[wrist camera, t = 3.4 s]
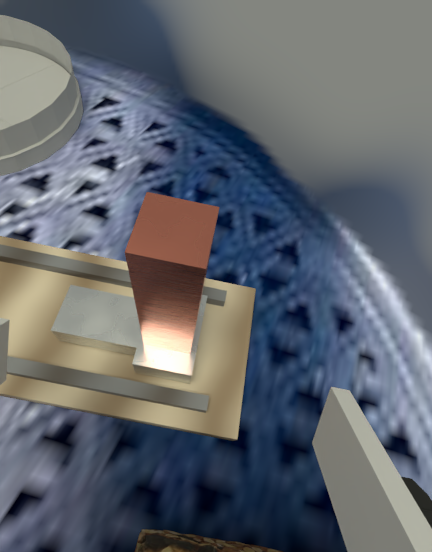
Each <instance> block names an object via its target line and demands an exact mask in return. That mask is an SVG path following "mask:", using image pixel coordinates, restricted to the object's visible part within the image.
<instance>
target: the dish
mask: <svg viewBox="0 0 432 552" xmlns="http://www.w3.org/2000/svg"><path fill="white" fill-rule="evenodd" d="M82 115H83V105H82V97H81V93H80V89H79V85H78V81H77V79H76V78H75V76H74V72H73V67H72V63H71V58H70V56H69V54H68V52H67V51H66V49H65V47H64V46H63V44H62V43H61V42H60V41H59V40H58V39H56V38H55V37H54V36H53V35H52V34H50V33H49V32H48V31H46V30H44V29H42V28H40V27H38V26H36V25H33V24H31V23H29V22H26V21H23V20H19V19H15V18H12V17H8V16H4V15H0V176H3V175H6V174H10V173H14V172H18V171H21V170H23V169H26V168H28V167H30V166H32V165H34V164H36V163H39V162H41V161H43V160H45V159H47V158H48V157H50V156H51V155H52V154H54V153H55V152H56V151H58V150H59V149H60V148H61V147H63V146H64V145H65V144H66V143H67V142H68V141H69V140H70V138H71V137H72V136H73V134H74V133H75V132H76V130H77V129H78V127H79V124H80V121H81V118H82Z"/></svg>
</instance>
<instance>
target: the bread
mask: <svg viewBox="0 0 432 552" xmlns="http://www.w3.org/2000/svg"><path fill="white" fill-rule="evenodd" d="M135 552H283V551H278V550H274V549H270V548H266V547H261V546H257V545H248V544H244V543H240V542H234V541H223V540H219V539H214V538H207V537H202V536H198V535H194V534H180V533H177V532H174V531H169V530H162V531H161V530H155V529H153V530H148V529H146V530H144V529H142V531H141V532H140V534H139V537H138V541H137V545H136V549H135Z"/></svg>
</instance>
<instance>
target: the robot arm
mask: <svg viewBox="0 0 432 552" xmlns="http://www.w3.org/2000/svg"><path fill="white" fill-rule="evenodd" d="M9 322H10V320H9V319H4V318H0V385H1V384H2V383H3V382H4V381H6V375H7V357H8V340H9ZM312 444H313V447H314V450H315V453H316V456H317V459H318V463H319V466H320V469H321V472H322V475H323V478H324V481H325V484H326V487H327V490H328V493H329V496H330V499H331V502H332V505H333V509H334V512H335V515H336V518H337V521H338V524H339V527H340V530H341V533H342V536H343V539H344V542H345V545H346V548H347V551H348V552H432V501H431V499H430V498H429V496H428V495H427V494H426V493H425V492H424V491H423V490H422V489H421V488H420V487H419V486H418V485H417V484H416V483H415V482H414V481H413V480H412V479H410V478H405V477H401V476H400V475H399V473H398V471H397V470H396V468H395V466H394V465H393V463H392V461H391V459H390V458H389V456H388V454H387V453H386V451H385V449H384V448H383V446H382V444H381V443H380V441H379V439H378V438H377V436H376V434H375V433H374V431H373V429H372V428H371V426H370V424H369V423H368V421H367V419H366V418H365V416H364V414H363V412H362V411H361V409H360V407H359V406H358V404H357V402H356V401H355V399H354V397H353V396H352V394H351V392H350V391H349V390H344V389H339V388H335V387H331V388H330V391H329V394H328V397H327V400H326V403H325V406H324V409H323V412H322V415H321V418H320V421H319V424H318V427H317V430H316V433H315V436H314V439H313V442H312Z"/></svg>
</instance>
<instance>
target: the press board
mask: <svg viewBox="0 0 432 552" xmlns="http://www.w3.org/2000/svg"><path fill="white" fill-rule="evenodd" d="M70 285H75V286H80V287H85V288H89V289H94V290H99V291H104V292H109V293H114V294H119V295H124V296H129V297H134V295H133V290H132V285H131V280H130V275H129V270H128V266H127V262H123V261H119V260H114V259H109V258H104V257H99V256H94V255H89V254H85V253H80V252H75V251H70V250H65V249H60V248H55V247H51V246H46V245H41V244H36V243H31V242H26V241H21V240H17V239H12V238H7V237H2V236H0V318H4V319H9V320H10V322H9V340H8V357H7V375H6V381H4V382H3V383H2V384H1V385H0V396H5V397H10V398H15V399H21V400H26V401H31V402H36V403H41V404H46V405H51V406H57V407H62V408H67V409H72V410H77V411H82V412H87V413H92V414H98V415H103V416H108V417H113V418H118V419H123V420H128V421H134V422H139V423H144V424H149V425H154V426H159V427H164V428H170V429H175V430H180V431H185V432H190V433H195V434H200V435H205V436H211V437H216V438H221V439H226V440H231V441H235V440H237V439H238V431H239V422H240V414H241V406H242V397H243V389H244V381H245V372H246V364H247V356H248V348H249V339H250V331H251V323H252V314H253V306H254V298H255V290H256V289H255V288H250V287H245V286H240V285H235V284H230V283H225V282H221V281H216V280H211V279H206V278H205V283H204V288H203V293H202V295H206V296H207V301H206V306H205V311H204V316H203V321H202V326H201V331H200V336H199V341H198V347H197V352H196V357H195V362H194V367H193V372H192V376H191V380H190V384H189V383H184V382H179V381H174V380H169V379H164V378H159V377H154V376H149V375H143V374H138V373H135V371H134V368H133V365H132V362H133V359H134V355H128V354H123V353H118V352H113V351H108V350H103V349H98V348H93V347H88V346H83V345H78V344H73V343H68V342H63V341H59V339H58V338H57V337H56V336H55V335H54V334H53V333H52V331H51V328H52V326H53V324H54V322H55V319H56V317H57V315H58V312H59V310H60V308H61V306H62V303H63V301H64V299H65V296H66V294H67V292H68V290H69V287H70Z"/></svg>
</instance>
